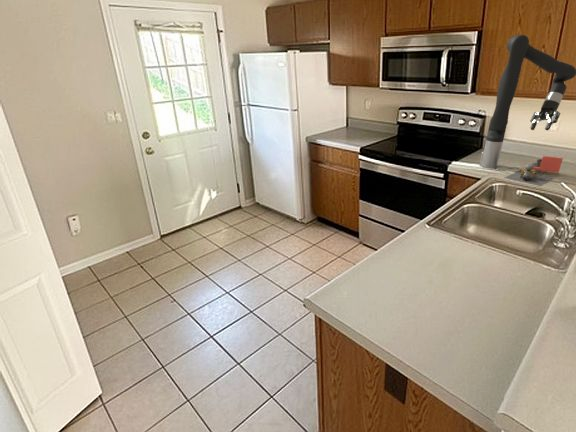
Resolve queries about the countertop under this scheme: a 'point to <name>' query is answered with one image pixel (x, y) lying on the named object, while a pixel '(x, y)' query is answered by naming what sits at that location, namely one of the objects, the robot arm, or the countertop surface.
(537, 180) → the mat
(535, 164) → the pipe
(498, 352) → the countertop surface
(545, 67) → the robot arm
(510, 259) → the countertop surface
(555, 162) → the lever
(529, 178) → the valve body
